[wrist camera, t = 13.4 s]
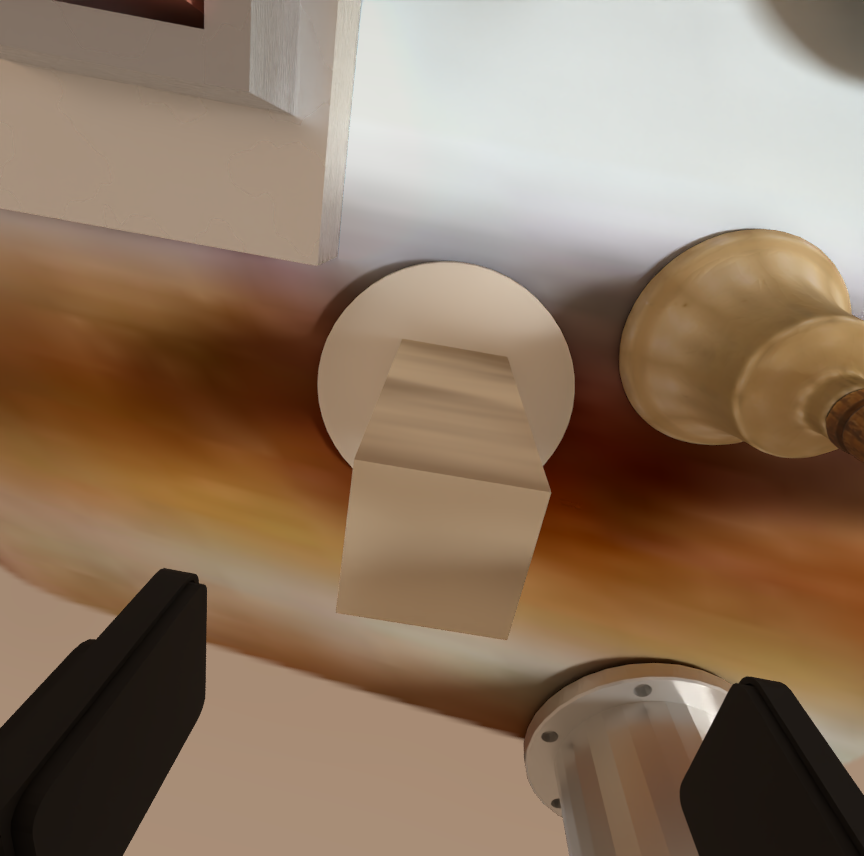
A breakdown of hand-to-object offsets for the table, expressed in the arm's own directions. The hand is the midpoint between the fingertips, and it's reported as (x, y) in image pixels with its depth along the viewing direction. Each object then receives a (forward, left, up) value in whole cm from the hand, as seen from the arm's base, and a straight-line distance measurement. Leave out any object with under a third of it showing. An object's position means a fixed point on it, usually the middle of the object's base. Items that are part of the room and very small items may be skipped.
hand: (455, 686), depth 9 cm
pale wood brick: (+1, 0, -13) cm, 13 cm away
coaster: (+1, 0, -13) cm, 13 cm away
